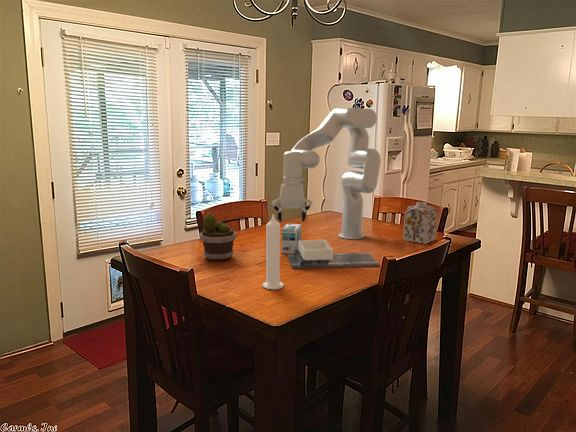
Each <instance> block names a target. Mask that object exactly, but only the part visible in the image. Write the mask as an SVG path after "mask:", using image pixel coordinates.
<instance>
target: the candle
mask: <svg viewBox="0 0 576 432" xmlns="http://www.w3.org/2000/svg"><path fill="white" fill-rule="evenodd" d="M265 226H266V229H265V230H266V231H265V232H266V234H265V235H266V242H265V243H266V251H265V252H266V253H265V255H266V258H265V259H266V266H265V267H266V281H264V282H263V283H262V288H264V289H265V288H266V290H269V289H271V290H270V291H274V290H276V289H277V290H281V289H283V288H284V283H283V282H282V281H281V275H280V274H281V265H280V264H281V261H280V260H281V224H280V223H279V221H277V220H276V217H275V214H274V213H273V214H272V216H271V219H270V221H268V222H267V223H266V225H265Z"/></svg>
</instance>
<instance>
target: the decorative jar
mask: <svg viewBox="0 0 576 432" xmlns="http://www.w3.org/2000/svg"><path fill="white" fill-rule="evenodd" d="M403 218H404V219H403V228H402V229H403V231H402V232H403V233H402V240H403V242H409V241H411V242H410V243H414V242H418V243H417V244H420V243H423V244H422V245H425V244H426V245H427V243H428V244H429V242H430V243H432V242H434V241H436V239H437V237H436V236H437V226H438V211H437V210H436V209H435V208H434V206H431V205H428V203H427V202H424V201H417V202H416V204H415V205H410V206H408V207H407V209H406V210H405V211H404V217H403ZM431 241H432V242H431Z"/></svg>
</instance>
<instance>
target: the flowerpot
mask: <svg viewBox="0 0 576 432" xmlns="http://www.w3.org/2000/svg"><path fill="white" fill-rule="evenodd" d="M217 220H218V218H217V216H216V215H215V214H213V212H212V211H211V212H210V211H208V210H207V211H206V213H205V215H203V219H202V225H201V226H202V227H203V229H202V231H201V232H200V233H199V239H200V241H201V242H202V246H203V249H204V250H203V253H202V254H203V256H204V257H205V258H206V260H207V259H208V261H210V262H223V260H224V261H228V260H230V259H231V258H232V256H233V254H234V249H233V247H234V241H235V240H236V238H238V236H237V232H236V231H235V230H234V229H233V228H231V227H229V224H227V225H226V223H224V222H223V220H221V219H220V220H218V221H217Z"/></svg>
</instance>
